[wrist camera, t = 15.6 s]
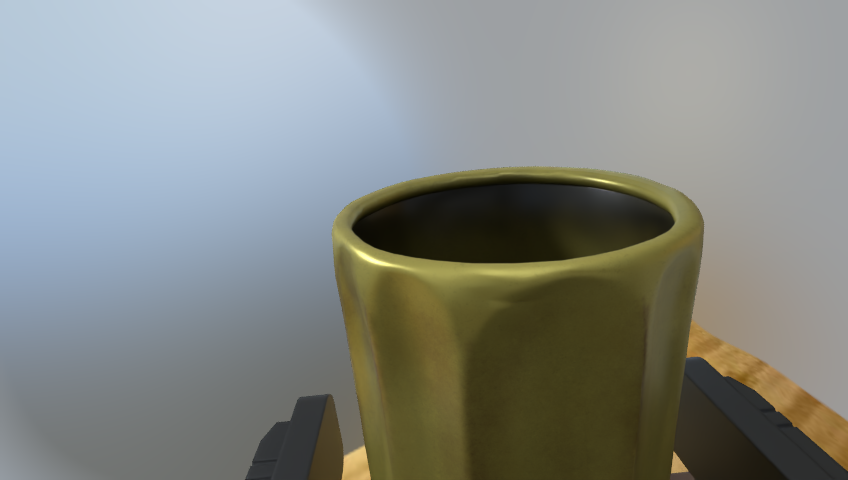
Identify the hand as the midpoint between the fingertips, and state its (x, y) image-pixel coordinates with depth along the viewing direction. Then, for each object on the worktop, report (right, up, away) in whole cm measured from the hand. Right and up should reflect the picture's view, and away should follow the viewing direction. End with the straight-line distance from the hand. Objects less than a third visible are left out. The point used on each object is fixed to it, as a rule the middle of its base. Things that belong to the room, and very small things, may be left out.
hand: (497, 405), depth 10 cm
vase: (+1, -9, +1) cm, 9 cm away
